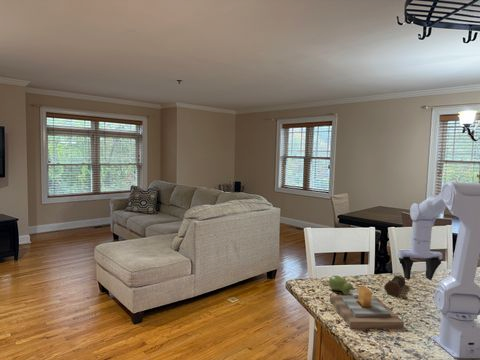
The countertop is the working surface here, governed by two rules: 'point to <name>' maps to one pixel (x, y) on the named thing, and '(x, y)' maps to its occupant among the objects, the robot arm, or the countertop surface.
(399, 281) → the bolt
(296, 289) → the countertop surface
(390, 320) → the brown grey stepped board
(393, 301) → the countertop surface
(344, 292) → the pear
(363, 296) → the notched wooden block
